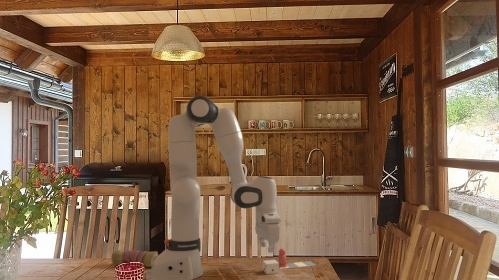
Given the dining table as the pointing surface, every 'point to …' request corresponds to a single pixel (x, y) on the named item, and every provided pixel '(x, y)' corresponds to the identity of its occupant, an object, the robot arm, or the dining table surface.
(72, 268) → the dining table surface
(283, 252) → the pawn
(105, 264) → the dining table surface
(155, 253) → the rolled towel
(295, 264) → the board
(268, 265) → the die
